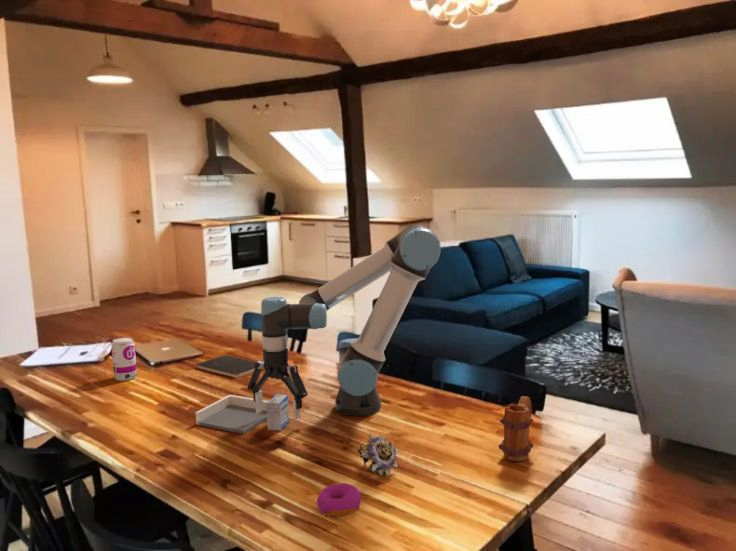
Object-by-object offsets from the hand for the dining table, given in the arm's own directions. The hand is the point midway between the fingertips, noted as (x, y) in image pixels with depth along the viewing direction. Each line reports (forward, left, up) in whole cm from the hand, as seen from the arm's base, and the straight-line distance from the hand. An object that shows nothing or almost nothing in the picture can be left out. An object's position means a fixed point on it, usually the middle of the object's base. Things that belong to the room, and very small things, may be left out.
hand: (277, 415), depth 195 cm
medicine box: (0, 0, -4) cm, 4 cm away
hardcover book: (+50, -42, -4) cm, 65 cm away
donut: (-40, +35, -4) cm, 53 cm away
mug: (-72, -9, -4) cm, 72 cm away
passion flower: (-40, +15, -4) cm, 43 cm away
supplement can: (+80, -16, -4) cm, 82 cm away
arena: (+15, +1, -3) cm, 15 cm away
